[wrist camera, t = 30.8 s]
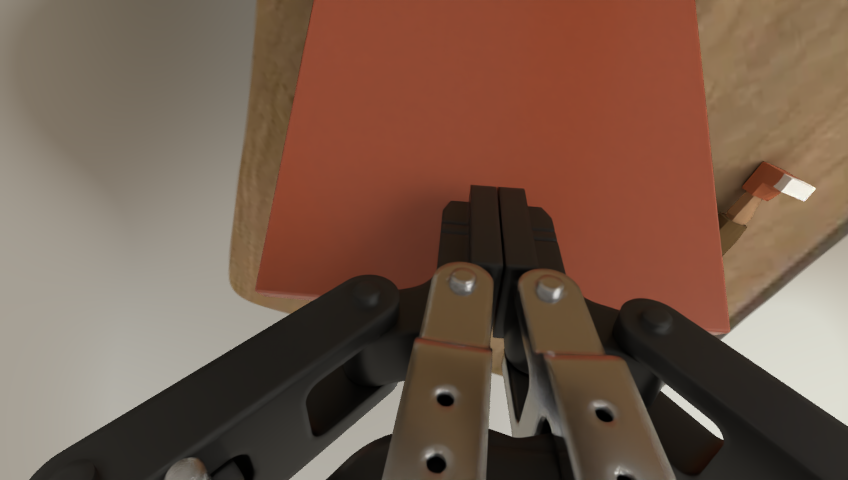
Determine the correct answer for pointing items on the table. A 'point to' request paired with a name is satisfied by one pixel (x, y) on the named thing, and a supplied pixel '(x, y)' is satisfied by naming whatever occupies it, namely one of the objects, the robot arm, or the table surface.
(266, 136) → the table surface
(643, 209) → the lid
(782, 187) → the character figurine
